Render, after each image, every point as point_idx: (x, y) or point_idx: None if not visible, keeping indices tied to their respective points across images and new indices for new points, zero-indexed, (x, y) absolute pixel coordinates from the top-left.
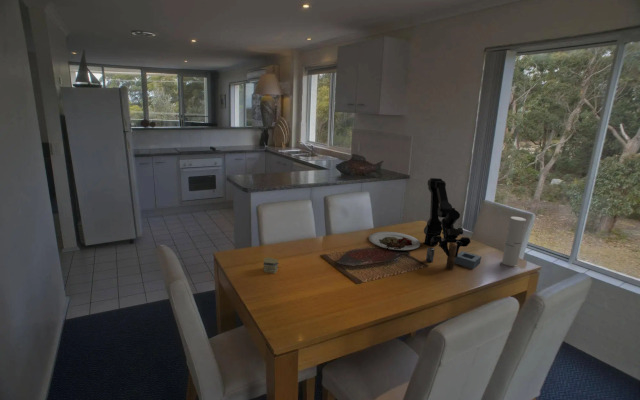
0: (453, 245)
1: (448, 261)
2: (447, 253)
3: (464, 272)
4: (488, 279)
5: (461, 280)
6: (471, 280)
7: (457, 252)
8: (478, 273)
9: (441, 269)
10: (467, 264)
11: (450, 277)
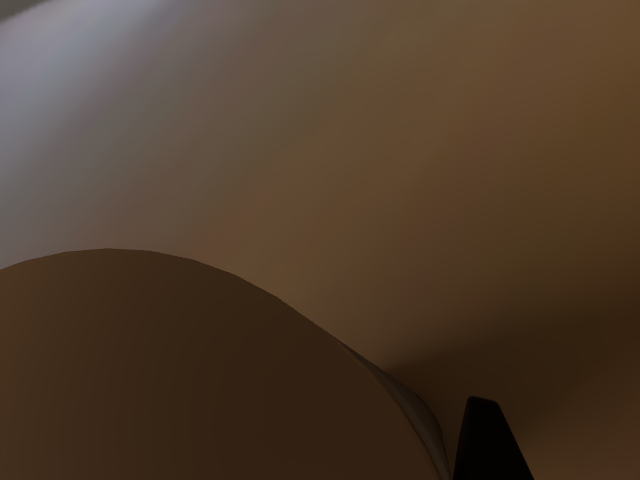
0: (282, 311)
1: (439, 430)
2: (529, 477)
3: (225, 245)
4: (58, 41)
5: (438, 5)
6: (292, 10)
7: None
8: (47, 202)
9: (588, 399)
10: None
11: (567, 89)
